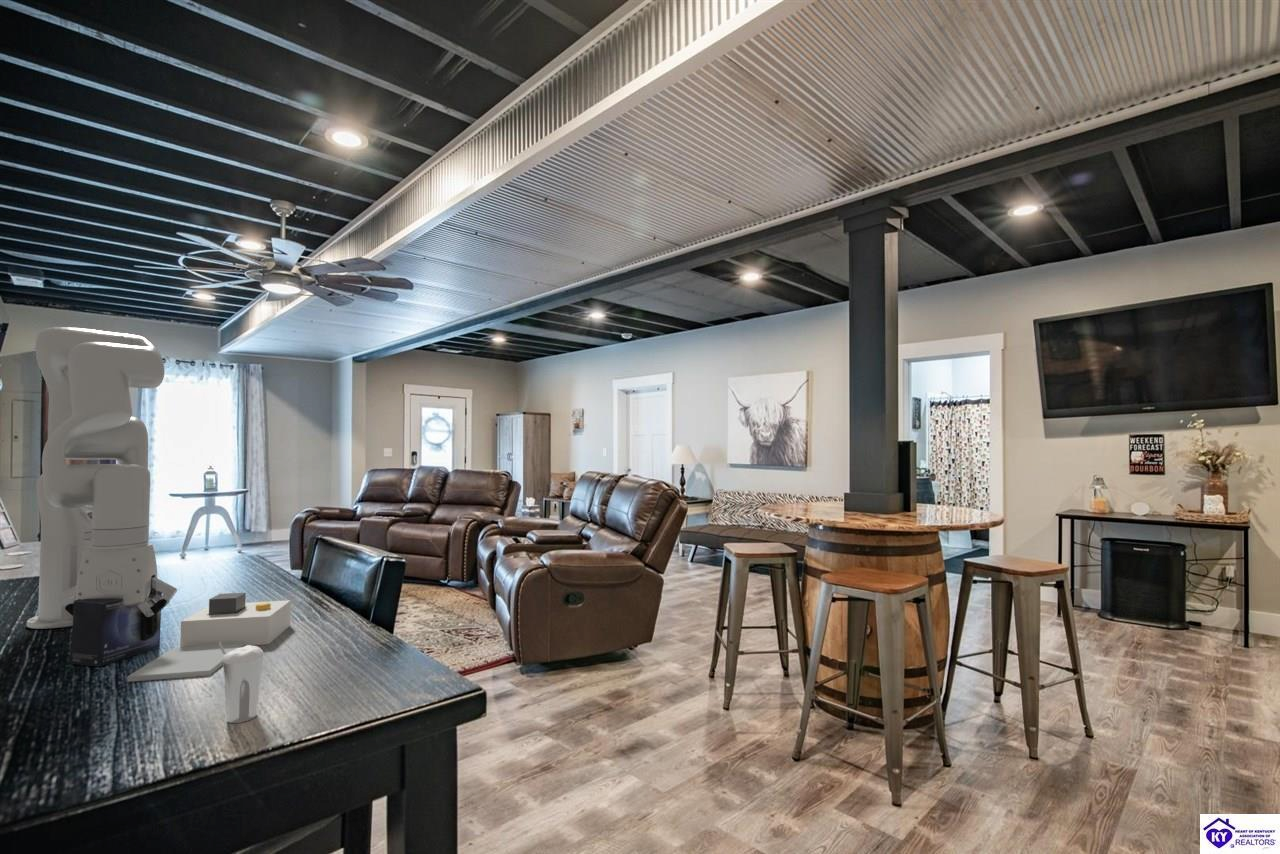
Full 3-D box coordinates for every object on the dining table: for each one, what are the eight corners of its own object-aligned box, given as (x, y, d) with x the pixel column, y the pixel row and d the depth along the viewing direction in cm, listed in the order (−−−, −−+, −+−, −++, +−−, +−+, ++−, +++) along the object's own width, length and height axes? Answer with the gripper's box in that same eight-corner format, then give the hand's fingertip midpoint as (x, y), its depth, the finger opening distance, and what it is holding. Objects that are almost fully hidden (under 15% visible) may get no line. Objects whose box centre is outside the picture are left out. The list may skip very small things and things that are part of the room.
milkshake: (227, 711, 82) (229, 636, 83) (268, 710, 83) (270, 635, 83) (206, 726, 78) (208, 647, 78) (250, 725, 78) (252, 646, 79)
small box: (100, 668, 99) (102, 602, 99) (67, 665, 100) (69, 600, 100) (162, 647, 109) (164, 588, 110) (132, 645, 110) (134, 586, 111)
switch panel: (210, 630, 119) (211, 600, 120) (290, 625, 123) (290, 596, 123) (180, 650, 108) (181, 616, 108) (268, 644, 111) (269, 611, 111)
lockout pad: (174, 652, 107) (174, 647, 107) (245, 647, 109) (245, 642, 109) (127, 681, 93) (127, 676, 93) (209, 675, 95) (209, 670, 96)
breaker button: (218, 625, 116) (219, 593, 117) (244, 624, 117) (245, 592, 118) (208, 632, 112) (209, 599, 112) (235, 630, 113) (236, 598, 113)
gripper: (44, 542, 100) (40, 651, 99) (167, 539, 104) (164, 643, 103) (75, 536, 107) (71, 637, 106) (189, 533, 111) (186, 630, 110)
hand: (117, 639), depth 105 cm, fingers closed on small box, 8 cm apart
